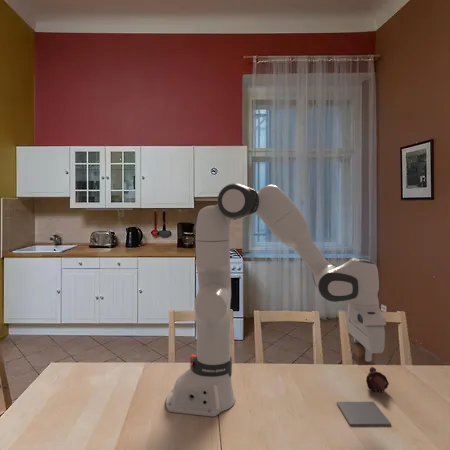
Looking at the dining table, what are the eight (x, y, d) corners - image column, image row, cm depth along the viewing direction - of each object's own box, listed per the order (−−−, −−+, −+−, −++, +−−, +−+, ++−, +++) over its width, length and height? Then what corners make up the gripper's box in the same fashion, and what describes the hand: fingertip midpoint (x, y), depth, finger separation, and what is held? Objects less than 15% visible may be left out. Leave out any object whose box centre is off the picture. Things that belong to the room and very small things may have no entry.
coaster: (350, 425, 103) (350, 423, 103) (336, 403, 115) (336, 401, 115) (391, 425, 103) (391, 423, 103) (373, 403, 115) (373, 401, 115)
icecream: (398, 383, 115) (383, 367, 130) (375, 376, 116) (362, 361, 131) (392, 404, 115) (378, 386, 130) (369, 397, 116) (358, 379, 131)
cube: (358, 365, 106) (358, 348, 106) (352, 358, 111) (352, 342, 111) (375, 364, 106) (375, 348, 106) (368, 357, 111) (368, 342, 111)
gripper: (341, 302, 119) (341, 343, 119) (366, 321, 98) (366, 371, 99) (360, 302, 119) (360, 343, 119) (389, 321, 98) (389, 370, 99)
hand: (363, 356), depth 109 cm, fingers closed on cube, 5 cm apart
